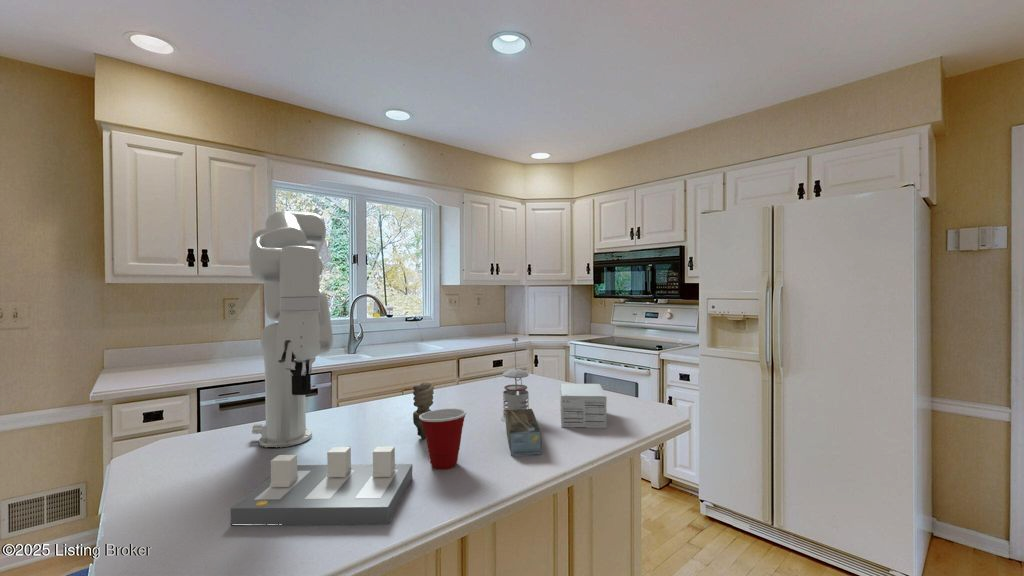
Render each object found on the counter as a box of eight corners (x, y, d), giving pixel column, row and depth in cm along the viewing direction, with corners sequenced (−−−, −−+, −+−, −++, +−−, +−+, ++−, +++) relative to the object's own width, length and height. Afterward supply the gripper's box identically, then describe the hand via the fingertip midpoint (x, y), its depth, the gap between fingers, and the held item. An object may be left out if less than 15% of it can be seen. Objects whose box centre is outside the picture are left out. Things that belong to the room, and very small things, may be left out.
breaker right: (372, 476, 86) (372, 452, 86) (377, 469, 89) (377, 445, 89) (390, 476, 86) (390, 452, 86) (395, 469, 89) (395, 445, 89)
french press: (497, 422, 129) (496, 339, 129) (504, 411, 141) (503, 334, 141) (529, 424, 128) (529, 339, 128) (534, 412, 139) (533, 334, 139)
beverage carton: (508, 457, 104) (508, 429, 104) (505, 431, 123) (505, 407, 123) (542, 456, 104) (541, 428, 104) (533, 430, 123) (533, 406, 123)
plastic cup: (448, 451, 107) (448, 403, 107) (476, 464, 99) (476, 411, 99) (410, 464, 99) (409, 412, 99) (437, 479, 92) (436, 422, 92)
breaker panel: (230, 525, 74) (230, 507, 74) (285, 479, 92) (285, 464, 92) (387, 524, 74) (387, 506, 74) (412, 478, 92) (412, 463, 92)
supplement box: (607, 429, 123) (607, 396, 123) (561, 428, 124) (560, 395, 124) (600, 411, 140) (600, 382, 140) (559, 411, 141) (559, 382, 141)
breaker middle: (326, 477, 86) (326, 452, 86) (334, 469, 89) (334, 446, 89) (344, 477, 86) (344, 452, 86) (351, 469, 89) (351, 446, 89)
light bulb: (436, 435, 119) (436, 380, 119) (431, 442, 113) (430, 385, 113) (416, 434, 119) (416, 380, 119) (410, 442, 114) (409, 385, 114)
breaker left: (269, 487, 82) (269, 461, 82) (280, 478, 85) (279, 454, 85) (288, 486, 82) (288, 461, 82) (298, 478, 85) (298, 454, 85)
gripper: (299, 304, 98) (300, 386, 98) (261, 307, 83) (262, 403, 83) (333, 304, 98) (334, 385, 98) (300, 307, 83) (301, 403, 83)
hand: (301, 393), depth 90 cm, fingers closed
